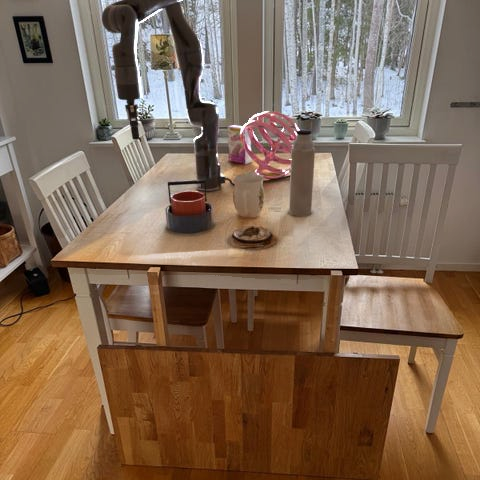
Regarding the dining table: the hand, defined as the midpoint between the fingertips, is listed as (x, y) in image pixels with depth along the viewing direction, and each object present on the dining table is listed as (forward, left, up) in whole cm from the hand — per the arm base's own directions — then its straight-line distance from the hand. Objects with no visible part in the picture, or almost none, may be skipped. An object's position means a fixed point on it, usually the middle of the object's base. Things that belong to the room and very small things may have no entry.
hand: (135, 136), depth 155 cm
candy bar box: (-64, -52, -28) cm, 87 cm away
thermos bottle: (-50, +24, -28) cm, 62 cm away
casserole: (-10, +17, -28) cm, 34 cm away
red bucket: (-10, +17, -27) cm, 34 cm away
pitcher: (-32, +18, -28) cm, 46 cm away
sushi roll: (-23, +38, -28) cm, 53 cm away
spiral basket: (-66, -23, -28) cm, 75 cm away
